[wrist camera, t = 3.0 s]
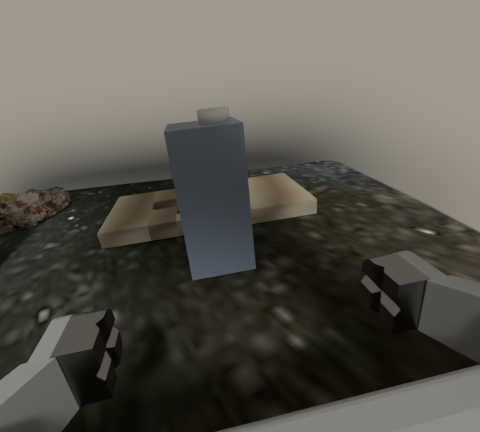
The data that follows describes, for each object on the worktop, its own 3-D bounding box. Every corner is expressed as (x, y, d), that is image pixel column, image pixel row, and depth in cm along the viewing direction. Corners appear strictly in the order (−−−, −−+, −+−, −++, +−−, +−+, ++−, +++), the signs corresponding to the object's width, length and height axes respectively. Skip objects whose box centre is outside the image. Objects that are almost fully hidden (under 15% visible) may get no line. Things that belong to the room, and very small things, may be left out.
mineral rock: (-6, 223, 29) (-52, 196, 31) (4, 258, 31) (-41, 230, 33) (89, 190, 38) (46, 171, 40) (91, 219, 40) (51, 200, 42)
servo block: (192, 280, 20) (161, 116, 16) (190, 249, 24) (165, 112, 20) (255, 268, 21) (241, 108, 17) (243, 240, 25) (229, 104, 21)
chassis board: (102, 248, 26) (97, 233, 25) (122, 208, 35) (119, 196, 34) (316, 213, 28) (316, 198, 28) (284, 184, 38) (283, 172, 37)
